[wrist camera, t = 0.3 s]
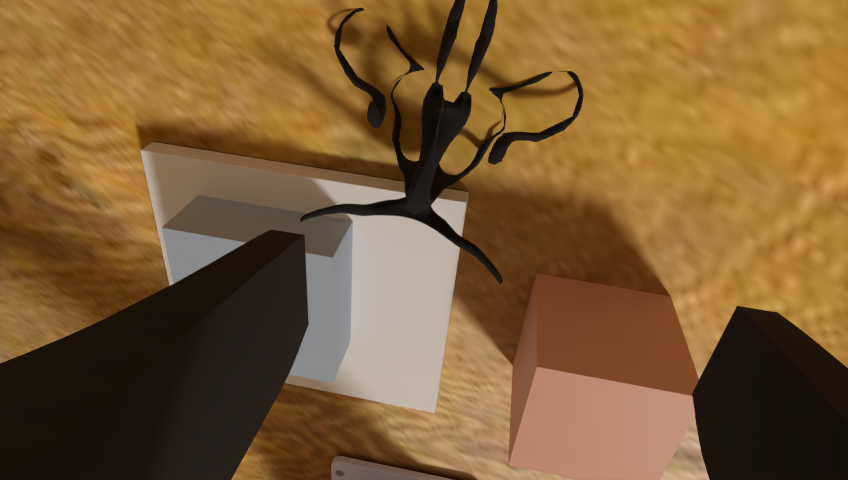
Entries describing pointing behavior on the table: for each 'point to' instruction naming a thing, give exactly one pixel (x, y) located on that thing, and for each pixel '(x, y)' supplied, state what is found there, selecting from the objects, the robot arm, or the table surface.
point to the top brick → (599, 382)
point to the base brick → (325, 267)
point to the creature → (438, 135)
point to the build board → (371, 261)
